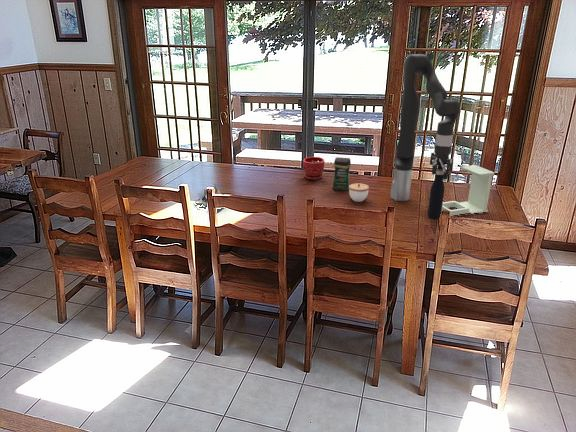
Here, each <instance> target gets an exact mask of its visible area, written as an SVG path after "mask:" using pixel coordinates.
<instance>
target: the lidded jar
mask: <svg viewBox="0 0 576 432" xmlns="http://www.w3.org/2000/svg"><path fill="white" fill-rule="evenodd" d="M369 189H370V187H369V185H368V184H364V183H360V182H359V183H357V182H355V183H352V184H349V189H348V194H349V197H350V198H351V199H352V201H354V202H356V203H357V202H360V203H361V202H363V201H364V200H366V198H367V197H368V195H369V191H370V190H369Z"/></svg>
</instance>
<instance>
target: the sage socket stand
mask: <svg viewBox="0 0 576 432" xmlns="http://www.w3.org/2000/svg"><path fill="white" fill-rule="evenodd" d="M460 170H463V171H464V172H467V173H469V174H471V179H470V185H469V192H468V197H467V198H468V199H467V201H460V202H458V201H456V200H451V201H450V200H449V201H445V202H444V201H443V204H442V211H443V210H448V211H450V216H452V217H454V216H453V215H458V216H460V215H459V214H465V213H471V214H473V215H475V214H474V213H479V214H484V213H483V212H486V213H488V212H489V210H488V208H487V207H488V203H489V198H490V192H491V187H492V180H493V177H494V175H495V172H494V171H491V170H489V169H486V168H484V167H482V166H479V165H477V164H471V165H464V166H463V165H462V166H460ZM450 207H451V208H454V207H455V208H454V209H450ZM456 208H457V209H456ZM442 211H441V213H442ZM471 214H470V215H471ZM465 215H466V214H465Z"/></svg>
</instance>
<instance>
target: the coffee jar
mask: <svg viewBox="0 0 576 432" xmlns="http://www.w3.org/2000/svg"><path fill="white" fill-rule="evenodd" d="M351 164H352V163H351V158H350V157H341V156H340V157H335V159H334V162H333V166H334V176H333V182H332V188H333V189H334V190H338V191H348V190H349V185H350V168H351Z"/></svg>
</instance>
